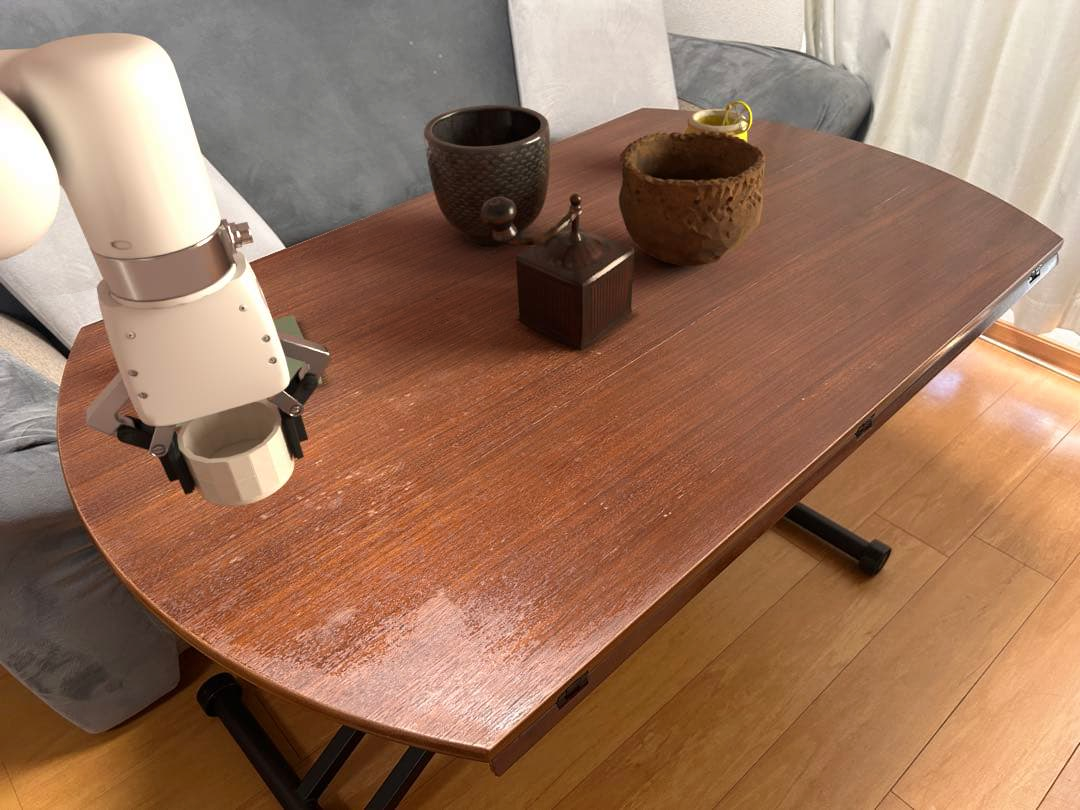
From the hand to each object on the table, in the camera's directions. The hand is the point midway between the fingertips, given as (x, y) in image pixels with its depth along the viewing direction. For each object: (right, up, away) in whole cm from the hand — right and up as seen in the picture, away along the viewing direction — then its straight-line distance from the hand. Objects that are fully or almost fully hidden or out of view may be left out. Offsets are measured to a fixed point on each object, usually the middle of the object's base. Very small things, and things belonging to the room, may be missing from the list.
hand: (243, 463), depth 58 cm
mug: (+52, +45, +71) cm, 99 cm away
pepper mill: (+25, +14, +36) cm, 46 cm away
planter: (+16, +30, +55) cm, 65 cm away
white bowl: (0, -1, +1) cm, 1 cm away
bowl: (+43, +25, +48) cm, 69 cm away
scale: (-12, +8, +31) cm, 34 cm away
